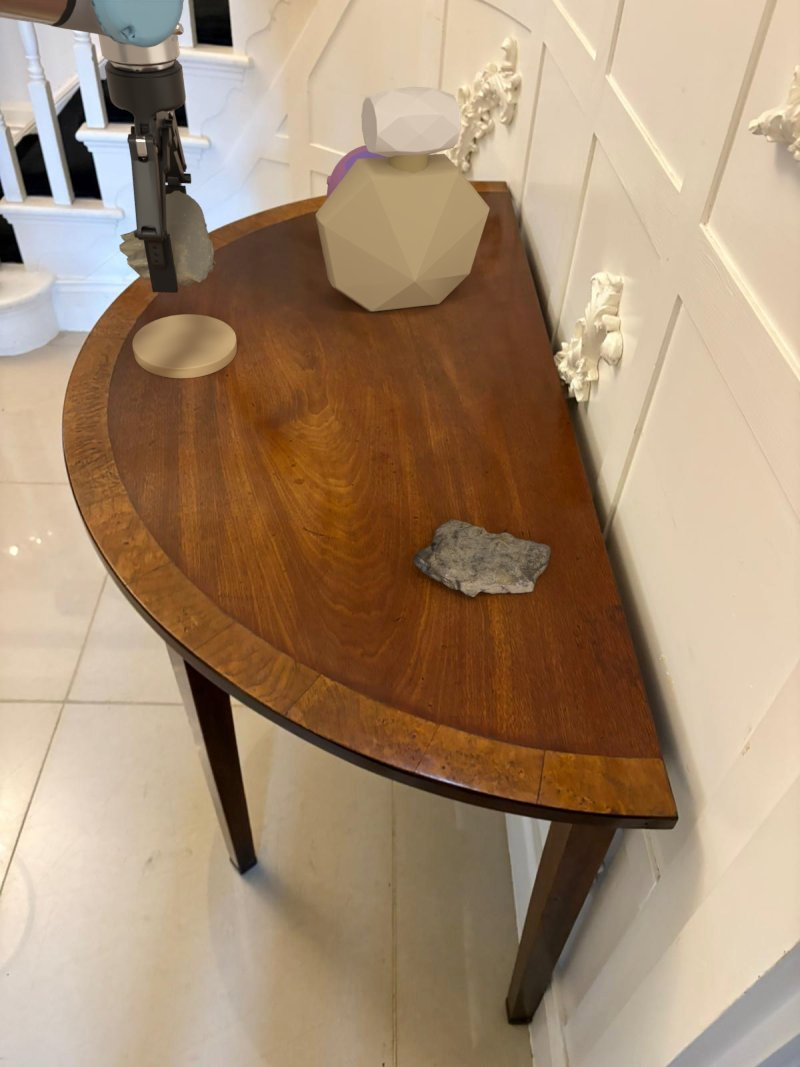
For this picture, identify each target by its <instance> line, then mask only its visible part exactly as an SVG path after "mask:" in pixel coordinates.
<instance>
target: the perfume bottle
mask: <svg viewBox="0 0 800 1067" xmlns="http://www.w3.org/2000/svg"><path fill="white" fill-rule="evenodd" d="M360 116H361V117H360V118H361V131H362V136H363V142H364V145H366V147H367V149H368V151H369V152H372V153H376V154H379V155H383V156H386V157H381V158H364V159H357V160H356V162H355V163H354V164H353V166H352V167H351V168H350V170H349V171H348V172H347V174H346V175H345V176H344V177H343V179H342V180H341V181H340V183H339V184H338V185H337V187H336V188H335V189H334V191H333V192H332V193H331V195H330V196H329V197H328V199H327V198H326V200H325V201H324V202H323V203H322V205H321V206H320V208H319V209H318V211H317V212H316V213H315V220H316V225H317V230H318V235H319V240H320V244H321V250H322V254H323V260H324V265H325V270H326V275H327V279H328V282H329V283H330V285H331V287H332V288H333V289H334V290H336V291H338V292H340V293H341V294H342V295H344V296H345V297H346V298H348V299H350V300H351V301H352V302H353V303H355V304H357V305H358V306H360V307H361V308H362V309H364V310H366V311H367V312H371V313H372V312H379V311H389V310H397V309H398V310H399V309H406V308H415V307H424V306H433V305H440V304H441V303H442V302H443V301H444V300H445V299H446V298H447V297H448V296H449V295H450V294H451V293H452V292H453V291H454V290H455V289H456V288H457V287H458V286H459V285H460V284H461V283H462V282H463V281H464V280H465V279H467V277H468V276H469V275H470V274H471V272H472V268H473V265H474V262H475V258H476V255H477V251H478V249H479V245H480V242H481V238H482V235H483V232H484V228H485V227H486V226H485V225H486V223H487V220H488V216H489V212H490V209H491V208H490V206H489V205H488V204H487V203H486V202H485V200H484V199H483V198H482V196H481V195H480V194H479V193H478V191H477V190H476V189H475V187H474V186H473V185H472V184H471V183H470V181H469V180H468V178H467V177H466V176H465V175H464V174H463V172H462V171H461V170H460V169H459V168H458V166H457V164H455V163H454V162H453V161H452V160H451V159H450V158H449V157H448V156H447V154H445V153H440V152H443V151H448V150H450V149H454V148H455V147H456V145H457V144H458V143H459V138H460V134H461V129H462V128H461V124H462V123H461V120H462V119H461V118H462V117H461V111H460V108H459V102H458V100H457V99H456V97H455V95H454V94H452V93H450V92H446V91H444V90H441V89H438V88H435V87H422V86H409V87H400V88H393V89H388V90H385V91H382V92H379V93H376V94H372V95H369V96H366V97H365V99H364V100H363V103H362V107H361V114H360Z"/></svg>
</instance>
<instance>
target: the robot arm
mask: <svg viewBox="0 0 800 1067" xmlns="http://www.w3.org/2000/svg"><path fill="white" fill-rule="evenodd" d="M184 2H185V0H0V19H8V20H13V21H20V22H27V23H33V24H38V25H39V24H40V25H45V26H51V27H54V28H58V29H64V30H70V31H77V32H83V33H89V34H94V35H98V40H99V41H98V42H99V46H100V52H101V56H102V57H103V58H104V59H105V60H107V61H106V64H105V65H104V71H105V76H106V77H105V78H106V83H107V88H108V93H109V98H110V101H111V103H112V104H113V105H114V106H115V107H117V108H118V109H121V110H122V111H127V112H129V113H131V114H132V115H133V118H134V119H133V124H134V125H131V126H130V133H128V134H127V139H126V140H127V144H128V149H129V157H130V162H131V163H130V164H131V177H132V186H133V188H132V190H133V199H134V200H133V201H134V211H135V224H136V229H137V231H134V230H133V231H134V236H135V238H138V239H139V240H144V245H145V251H146V257H147V262H148V268H149V274H150V279H151V280H150V284H151V290H152V293H172V294H173V293H176V294H177V293H178V290H179V287H178V286H179V285H178V284H177V279H176V273H175V266H174V259H173V253H172V246H171V239H170V234H167V226H166V194H171V193H173V192H174V191H180V192H182V193H184V194H187V195H188V193H187V186H186V185H188V184H189V185H191V184H192V174H191V173H189V172H188V173H186V172H187V169H188V165H187V163H186V157H185V155H184V149H183V145H182V140H181V136H180V132H179V128H178V123H177V122H178V121H177V117H176V113H175V112H176V110H177V109H179V108H181V107H182V106H183V105H184V104H185V103H186V100H187V99H186V98H187V95H186V88H185V87H186V86H185V77H184V70H183V66H182V64H181V63H180V61H178V60H177V59H178V58H179V57H180V55H181V51H180V44H179V42H180V41H179V36H181V35H183V34H184V33H185V32H184V31H185V30H184V29H185V28H184V26H183V24H182V23H180V21H181V17H182V15H183V10H184ZM182 184H185V185H182ZM151 226H153V227H151Z"/></svg>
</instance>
